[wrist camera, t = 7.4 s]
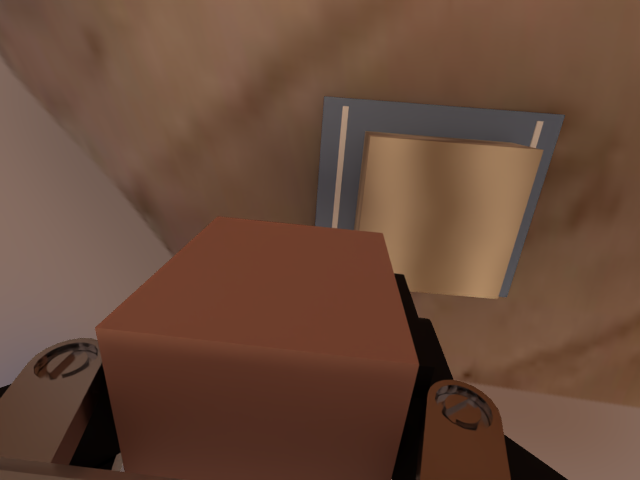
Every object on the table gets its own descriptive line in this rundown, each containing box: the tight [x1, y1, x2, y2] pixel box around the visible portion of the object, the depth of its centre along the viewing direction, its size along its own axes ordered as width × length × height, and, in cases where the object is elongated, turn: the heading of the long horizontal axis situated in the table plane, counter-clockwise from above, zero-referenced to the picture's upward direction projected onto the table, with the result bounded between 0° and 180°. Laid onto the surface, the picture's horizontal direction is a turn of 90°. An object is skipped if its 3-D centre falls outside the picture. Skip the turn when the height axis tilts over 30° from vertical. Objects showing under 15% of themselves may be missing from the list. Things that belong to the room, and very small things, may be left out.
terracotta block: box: [95, 216, 419, 480], centre depth 9 cm, size 5×5×6 cm
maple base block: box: [354, 131, 544, 299], centre depth 24 cm, size 10×10×4 cm
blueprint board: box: [315, 96, 565, 297], centre depth 26 cm, size 16×14×1 cm
